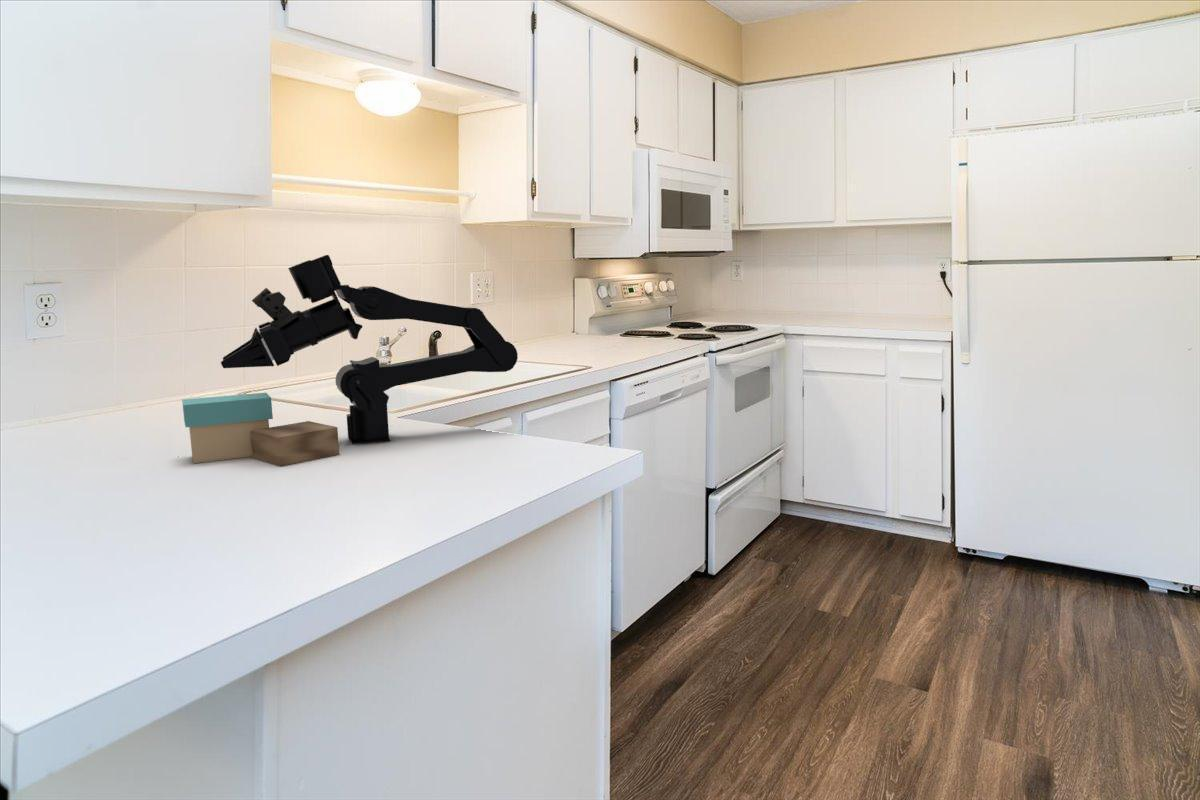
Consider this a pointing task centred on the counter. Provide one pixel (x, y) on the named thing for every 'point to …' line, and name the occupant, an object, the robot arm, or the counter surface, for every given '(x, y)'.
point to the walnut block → (294, 443)
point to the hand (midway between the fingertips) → (222, 362)
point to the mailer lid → (227, 409)
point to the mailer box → (223, 440)
